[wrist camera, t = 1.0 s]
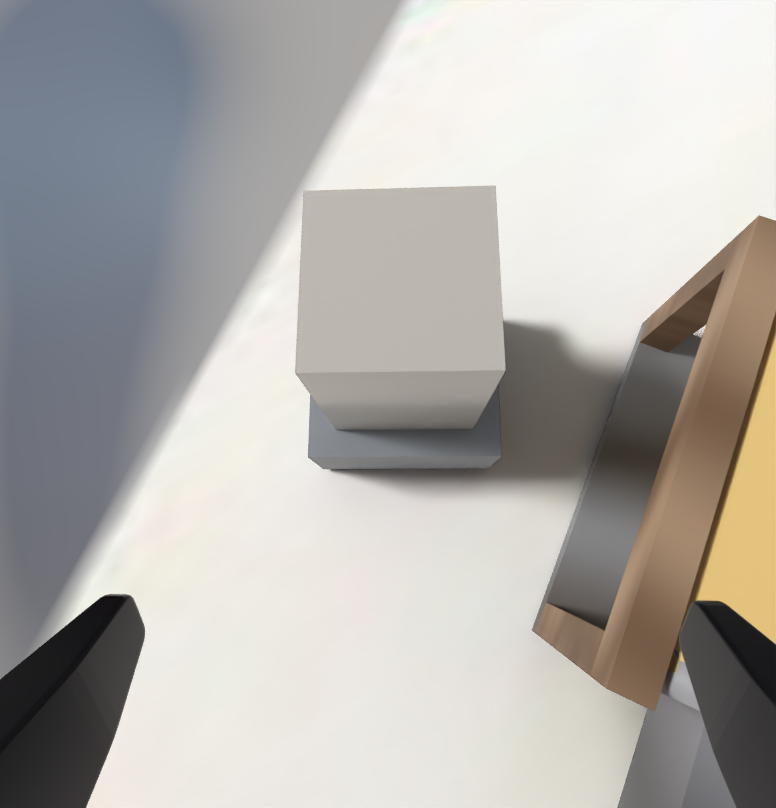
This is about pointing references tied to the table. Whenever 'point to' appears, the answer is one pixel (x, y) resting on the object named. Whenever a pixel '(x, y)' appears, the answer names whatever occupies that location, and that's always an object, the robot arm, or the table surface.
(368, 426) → the grey upright block
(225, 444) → the table surface
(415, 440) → the plinth
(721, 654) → the robot arm
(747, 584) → the trapdoor
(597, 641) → the frame
